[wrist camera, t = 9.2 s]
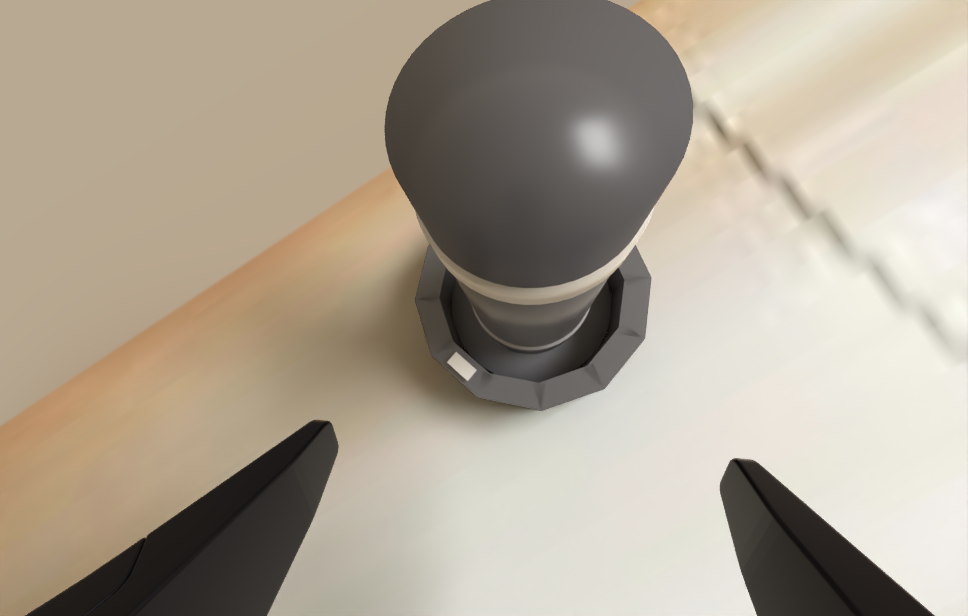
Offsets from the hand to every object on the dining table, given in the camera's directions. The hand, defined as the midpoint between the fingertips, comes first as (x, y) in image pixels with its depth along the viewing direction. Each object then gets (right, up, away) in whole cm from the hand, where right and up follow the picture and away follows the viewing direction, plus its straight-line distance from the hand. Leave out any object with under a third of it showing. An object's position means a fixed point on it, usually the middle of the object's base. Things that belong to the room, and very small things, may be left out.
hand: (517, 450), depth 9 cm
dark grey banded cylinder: (+2, +4, +10) cm, 11 cm away
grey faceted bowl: (+2, +4, +11) cm, 11 cm away
